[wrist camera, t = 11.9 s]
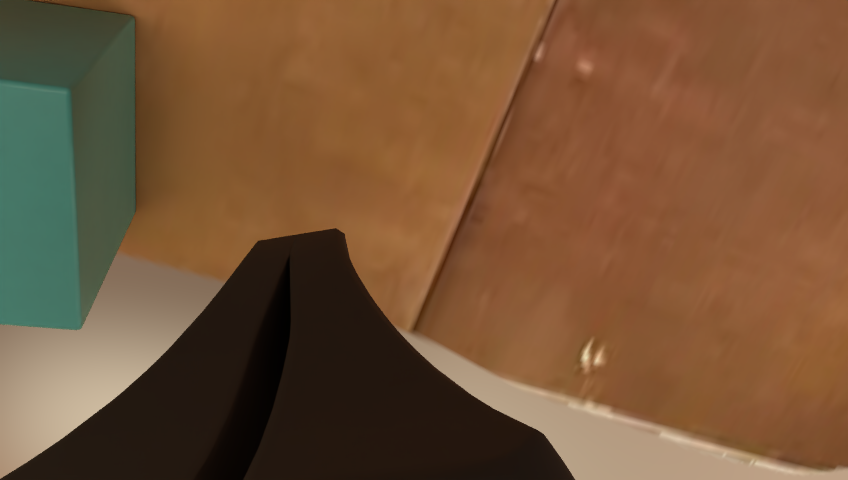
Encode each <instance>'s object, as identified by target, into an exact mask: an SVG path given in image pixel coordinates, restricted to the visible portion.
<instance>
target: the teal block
mask: <svg viewBox="0 0 848 480" xmlns="http://www.w3.org/2000/svg"><path fill="white" fill-rule="evenodd" d="M135 212H136V193H135V19H134V17H133V16H131V15H125V14H118V13H111V12H104V11H97V10H91V9H84V8H77V7H70V6H63V5H56V4H49V3H43V2H36V1H29V0H0V324H3V325H17V326H29V327H43V328H56V329H69V330H79V329H81V328H82V326H83V324H84V322H85V320H86V317H87V315H88V313H89V311H90V309H91V307H92V304H93V302H94V300H95V298H96V296H97V293H98V292H99V289H100V287H101V285H102V283H103V281H104V279H105V276H106V274H107V272H108V270H109V268H110V266H111V264H112V261H113V259H114V257H115V255H116V253H117V251H118V248H119V246H120V244H121V242H122V240H123V238H124V236H125V233H126V231H127V229H128V227H129V225H130V223H131V220H132V218H133V216H134V214H135Z"/></svg>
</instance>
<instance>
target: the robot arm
mask: <svg viewBox="0 0 848 480" xmlns="http://www.w3.org/2000/svg"><path fill="white" fill-rule="evenodd" d="M0 480H575V479H574V477H573V476H572V474H571V472H570V471H569V469H568V468H567V466H566V465H565V463H564V462H563V460H562V459H561V457H560V456H559V455H558V453H557V452H556V451H555V449H554V448H553V446H552V445H551V443H550V442H549V441H548V439H547V438H546V437H545V435H544V434H542V433H541V432H539V431H538V430H536V429H534V428H532V427H530V426H528V425H526V424H524V423H522V422H519V421H517V420H515V419H513V418H511V417H509V416H507V415H505V414H503V413H501V412H499V411H497V410H495V409H493V408H491V407H490V406H488V405H486V404H485V403H483V402H482V401H480V400H478V399H477V398H475V397H474V396H472V395H471V394H469V393H468V392H467V391H465V390H464V389H463V388H461V387H460V386H459V385H457V384H456V383H455V382H453V381H452V380H451V379H450V378H448V377H447V376H446V375H444V374H443V373H441V372H440V371H439V370H438V369H436V368H435V367H434V366H433V365H432V364H431V363H430V362H428V361H427V360H426V359H425V358H424V357H423V356H422V355H421V354H420V353H419V352H418V351H416V350H415V349H414V348H413V346H412V345H411V344H410V343H409V342H407V340H406V339H405V338H404V337H403V336H402V335H401V334H400V333H399V332H398V331H397V329H396V328H395V327H394V326H393V325H392V324H391V322H390V321H389V320H388V319H387V317H386V316H385V315H384V313H383V312H382V311H381V310H380V308H379V307H378V306H377V304H376V303H375V301H374V300H373V299H372V297H371V296H370V294H369V293H368V291H367V289H366V288H365V286H364V284H363V283H362V281H361V280H360V278H359V276H358V274H357V273H356V271H355V269H354V267H353V265H352V263H351V260H350V258H349V253H348V248H347V244H346V239H345V234H344V233H342V232H341V231H339V230H338V229H336V228H335V229H329V230H322V231H316V232H310V233H304V234H298V235H292V236H285V237H279V238H273V239H267V240H261V241H258V242H257V243H256V244H255V245H254V247H253V248H252V249H251V250H250V252H249V253H248V254H247V256H246V257H245V258H244V259H243V261H242V262H241V263H240V265H239V266H238V267H237V269H236V270H235V271H234V273H233V274H232V275H231V276H230V278H229V279H228V280H227V282H226V283H225V284H224V286H223V287H222V288H221V290H220V291H219V292H218V293H217V295H216V296H215V297H214V298H213V299H212V301H211V302H210V303H209V304H208V306H207V307H206V308H205V309H204V311H203V312H202V313H201V314H200V315H199V316H198V317H197V318H196V319H195V321H194V322H193V323H192V324H191V325H190V326H189V327H188V328H187V329H186V331H185V332H184V333H183V334H182V335H181V336H180V337H179V338H178V339H177V341H176V342H175V343H174V344H173V345H172V346H171V347H170V348H169V349H168V350H167V351H166V352H165V353H164V354H163V355H162V356H161V357H160V358H159V359H158V360H157V361H156V362H155V363H154V364H153V365H152V366H151V367H150V368H149V369H148V370H147V371H146V372H144V373H143V374H142V375H141V376H140V377H139V378H138V379H137V380H136V381H134V382H133V383H132V384H131V385H130V386H129V387H128V388H127V389H125V391H123V392H122V393H121V394H120V395H118V396H117V397H116V398H115V399H114V400H112V401H111V402H110V403H108V404H107V405H106V406H105V407H103V408H102V409H101V410H99V411H98V412H97V413H95V414H94V415H93V416H91V417H90V418H89V419H88V420H86V421H85V422H83V423H82V424H81V425H80V426H78V427H77V428H76V429H74V430H73V431H72V432H70V433H69V434H68V435H67V436H65V437H64V438H63V439H61V440H60V441H58V442H57V443H55V444H54V445H52V446H51V447H49V448H48V449H46V450H45V451H43V452H42V453H40V454H39V455H37V456H36V457H34V458H33V459H31V460H30V461H28V462H27V463H25V464H24V465H22V466H20V467H19V468H17V469H16V470H14V471H12V472H11V473H9V474H8V475H6V476H4V477H3V478H1V479H0Z"/></svg>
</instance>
